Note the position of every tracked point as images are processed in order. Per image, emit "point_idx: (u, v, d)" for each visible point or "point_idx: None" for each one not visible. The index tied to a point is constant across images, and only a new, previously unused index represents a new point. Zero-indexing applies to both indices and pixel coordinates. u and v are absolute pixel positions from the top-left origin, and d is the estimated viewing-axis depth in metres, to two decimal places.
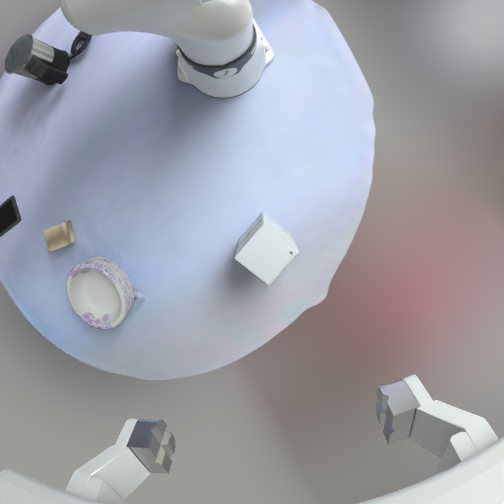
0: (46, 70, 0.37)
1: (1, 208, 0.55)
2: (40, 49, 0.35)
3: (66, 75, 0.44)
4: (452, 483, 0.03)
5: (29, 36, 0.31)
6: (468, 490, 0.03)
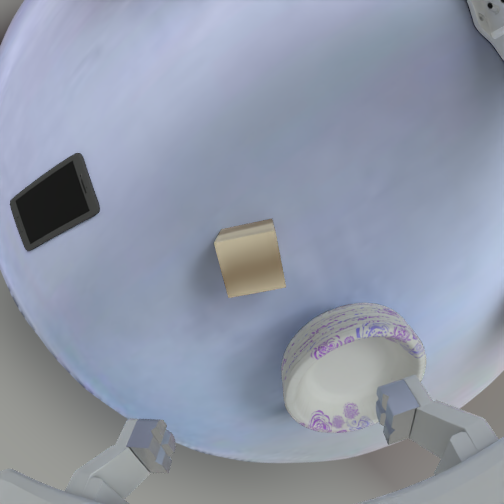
0: None
1: (41, 184, 0.26)
2: None
3: None
4: (452, 483, 0.03)
5: None
6: (468, 490, 0.03)
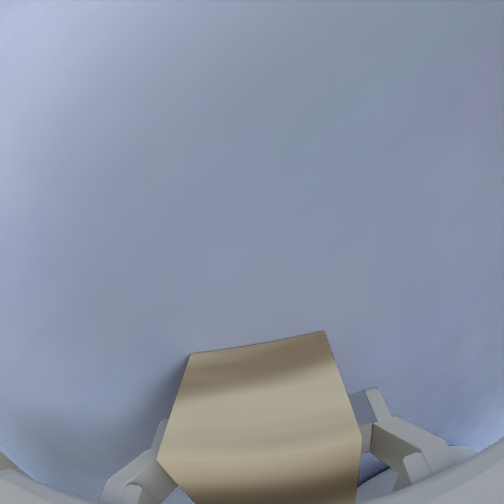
0: None
1: None
2: None
3: None
4: (452, 483, 0.03)
5: None
6: (468, 490, 0.03)
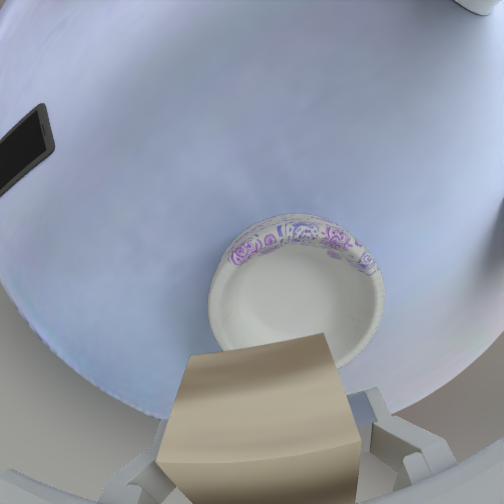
0: None
1: (12, 134, 0.26)
2: None
3: None
4: (452, 483, 0.03)
5: None
6: (468, 490, 0.03)
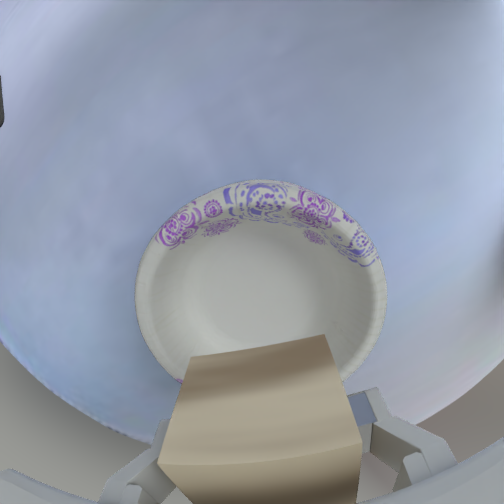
0: None
1: None
2: None
3: None
4: (452, 483, 0.03)
5: None
6: (468, 490, 0.03)
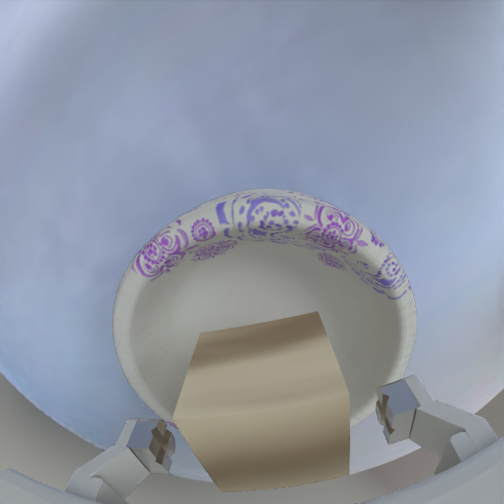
0: None
1: None
2: None
3: None
4: (452, 483, 0.03)
5: None
6: (468, 490, 0.03)
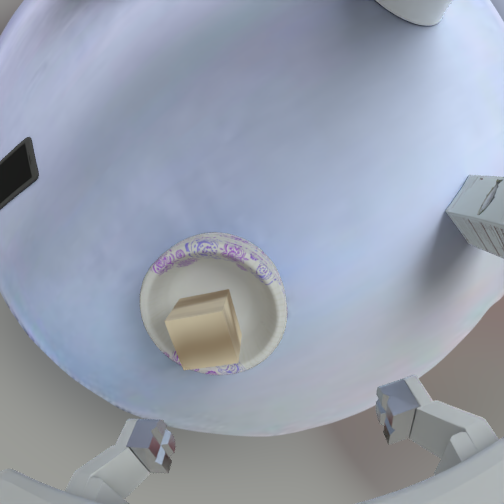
0: None
1: (5, 161, 0.32)
2: None
3: None
4: (452, 483, 0.03)
5: None
6: (468, 490, 0.03)
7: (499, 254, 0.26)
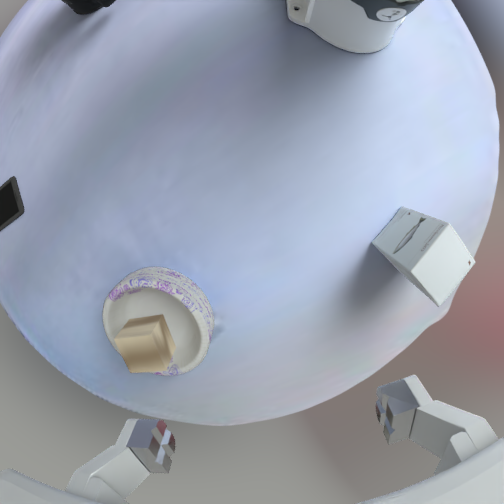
0: None
1: None
2: None
3: None
4: (452, 483, 0.03)
5: None
6: (468, 490, 0.03)
7: None
